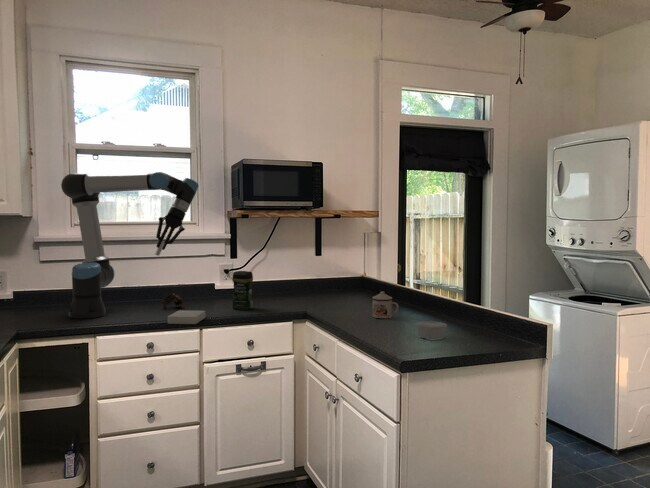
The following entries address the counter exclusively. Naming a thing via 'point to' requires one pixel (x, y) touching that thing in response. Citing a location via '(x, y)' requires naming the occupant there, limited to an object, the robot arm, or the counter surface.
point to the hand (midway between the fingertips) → (156, 255)
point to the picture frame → (186, 317)
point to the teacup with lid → (383, 306)
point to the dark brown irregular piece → (173, 298)
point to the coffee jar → (242, 290)
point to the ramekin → (431, 329)
